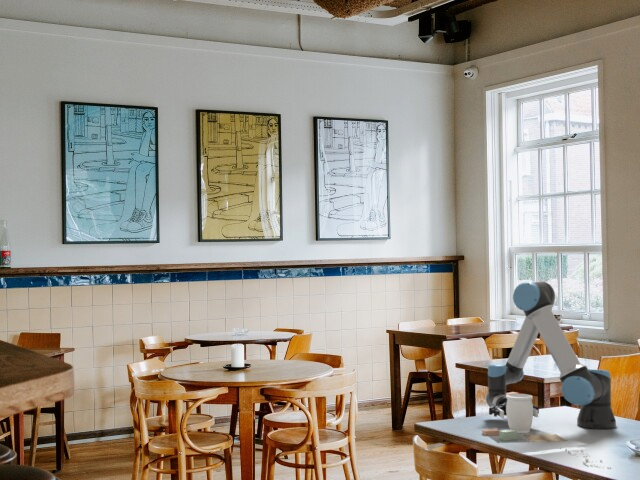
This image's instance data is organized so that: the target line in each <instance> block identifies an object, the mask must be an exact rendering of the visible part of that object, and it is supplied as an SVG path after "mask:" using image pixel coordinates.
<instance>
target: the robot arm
mask: <svg viewBox="0 0 640 480" xmlns="http://www.w3.org/2000/svg"><path fill="white" fill-rule="evenodd" d="M512 299H513V303H514V305H515V306H516V308H517V309H519V310H521V311H523V313H524V315H525V318H524V320H523V322H522V325H521V327H520V330H519V332H518V335H517V337H516V339H515V342H514V344H513V347H512V348H511V351H510V353H509V356H508V358H507V361H506V363H505V364H503V363H491V364H489V365H488V366H487V367H488V368H487V387H488V388H487V389H488V391H487V394H486V397H485V401H486V404H487V406H488V414H489V416H492V415H493V417H495V418H496V417H497V416H498V417H500V418H501V419H504V418H505V416H506V417H507V415H506V404H507V398H506V395H507V385H510V384H511V385H512V384H516V383H518V382H520V381H522V379H523V378H524V376H525V373H524V367H525V366H526V365H525V364H526V363H527V360H528V358H529V356H530V354H531V351H532V350H533V346H534V344H535V342H536V340H537V338H538V335H539V336H540V337H541V339H542V341H543V342H544V344H545V346H546V348H547V350H548V352H549V354H550V355H551V357H552V359H553V361H554V363H555V365H556V366H557V369H558V370H559V372H560V375H559V378H558V379H559V381H560V383H561V384H562V385H561V394H562V396H563V398H564V399H565V400H566V401H567V402H569V403H570V404H572V405H574V406H580V410H579V412H578V415H577V418H576V425H577V426H579V427H580V428H586V429H595V430H596V429H598V430H601V429H603V430H607V429H614V428H616V427H617V420H616V417H615V415H614V412H613V409H612V385H611V383H612V377H611V372H610V371H609V370H607V369H595V368H588V367H587V365H585V364H583V363H581V362H580V361H579V359H578V357H577V354H576V353H575V351H574V349H573V348H572V345H571V344H570V343H569V340H568V339H567V338H568V337H567V336H566V335H565V332H564V331H563V330H562V327H561V325H560V324H559V322H558V320H557V318H556V317H555V315H554V312H553V307H554V304H555V299H556V294H555V289H554V287H553V286H552V285H551V284H549V283H548V282H547V281H542V280H537V281H531V280H530V281H525V282H522V283H520V284H518V285H517V286H516V287H515V288H514V291H513V295H512ZM539 408H540V407H539V406H536V405H533V417H535V418H539V413H540V409H539Z"/></svg>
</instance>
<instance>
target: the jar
mask: <svg viewBox="0 0 640 480" xmlns="http://www.w3.org/2000/svg"><path fill="white" fill-rule="evenodd" d="M506 398H507V404H506V415H507V416H506V418H507V425H508V427H509V430H511V429H513V430H516V431H517V434H528V433H530V432H531V431H530V429H531V428H532V426H533V425H532V424H533V418H534V416H533V406H534V404H533V401H532V400H533V399H534V397H533V395H531V394H527V393H510V394H508V393H507V394H506Z"/></svg>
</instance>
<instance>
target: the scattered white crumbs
mask: <svg viewBox="0 0 640 480" xmlns="http://www.w3.org/2000/svg"><path fill="white" fill-rule="evenodd" d="M580 451H581V452H582V453H580V455H581V454H582V457H583V458H585V460H583V461H581V463H582V464H583V465H585V466H586V467H587V468H589V467H591V468H593V467H596V468H599V469H601V466H600V465H599V466H598V465H597V464H594V466H593V465H592V464H587V463H590V462H591V461H589V458H587V457H591V456H590V455H589V454H588V453H586V454H584V450H583V449H581V450H580ZM577 452H578V451H577ZM565 453H567V454H569V455H570V454H571V455H572V456H574V457H575V456H576V457H579V455H577V454H573V453H575V451H573V452H572V451H571V450H568V449H567V448H565ZM583 455H584V456H583ZM587 455H588V456H587ZM593 462H594V461H592V462H591V463H593ZM595 462H597V460H596V461H595ZM599 462H600V463H603V460H602V459H599ZM604 467H605V466H604V465H603V466H602V469H604ZM606 467H607V469H608V470H609V469H612V467H611V466H606Z"/></svg>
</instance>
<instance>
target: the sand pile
mask: <svg viewBox="0 0 640 480" xmlns="http://www.w3.org/2000/svg"><path fill="white" fill-rule="evenodd" d="M522 436H524V437H525V439H526V438H527V439H528V440H530V441H531V442H533V443H535V442H536V443H542V442H543V443H544V442H546V443H547V442H548V443H549V442H568V439H565V438H564V437H563V436H560V435H559V434H555V433H554V434H553V433H549V434H523V435H522Z"/></svg>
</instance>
